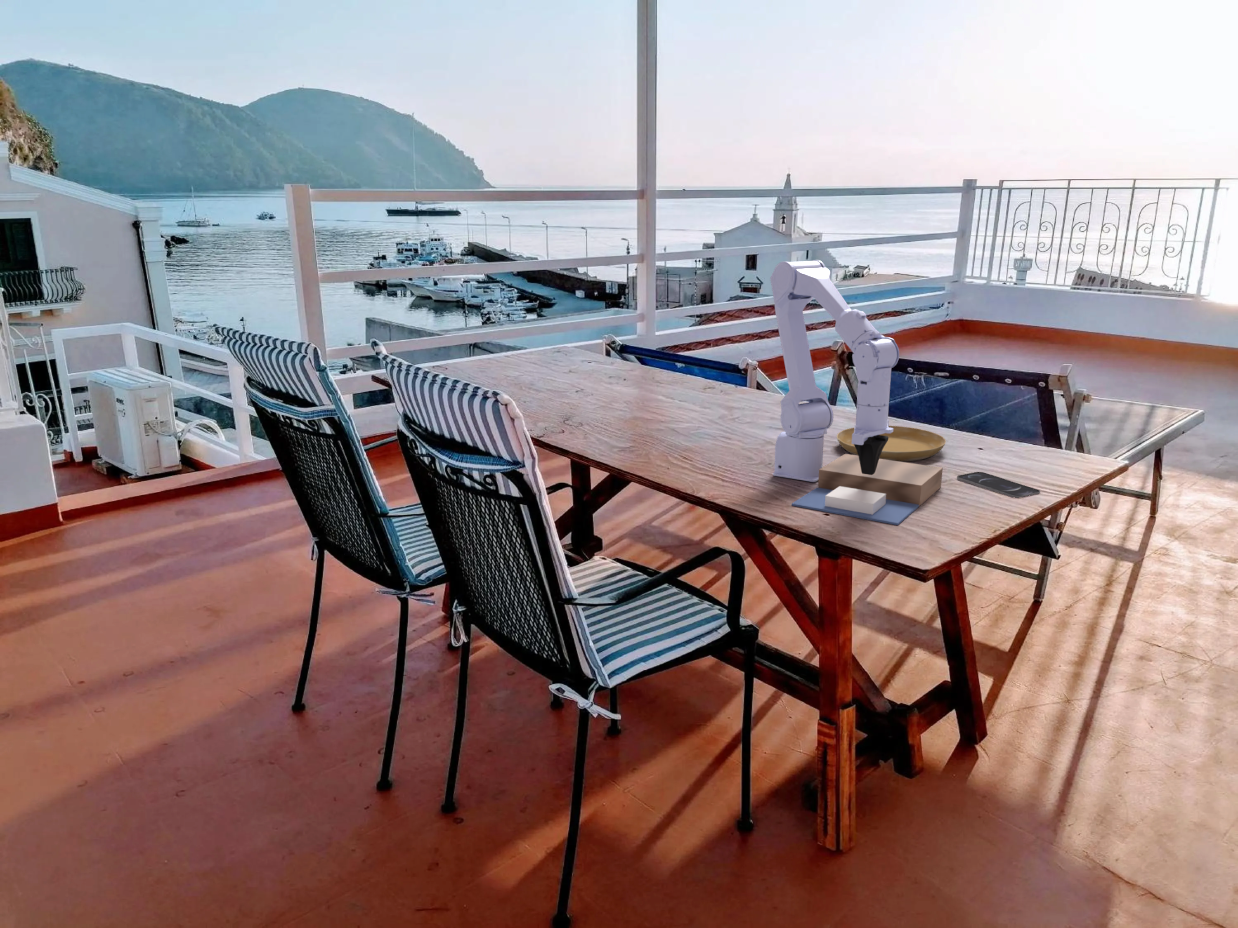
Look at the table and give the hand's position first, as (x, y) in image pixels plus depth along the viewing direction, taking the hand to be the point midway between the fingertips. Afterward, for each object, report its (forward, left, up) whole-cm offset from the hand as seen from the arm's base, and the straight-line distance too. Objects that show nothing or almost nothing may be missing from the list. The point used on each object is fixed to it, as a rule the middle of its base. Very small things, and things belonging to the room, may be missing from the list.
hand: (868, 473), depth 160 cm
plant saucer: (-8, +37, -5) cm, 38 cm away
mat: (0, -6, -5) cm, 8 cm away
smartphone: (+19, +21, -5) cm, 29 cm away
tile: (0, -7, -2) cm, 7 cm away
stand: (0, +7, -5) cm, 9 cm away
